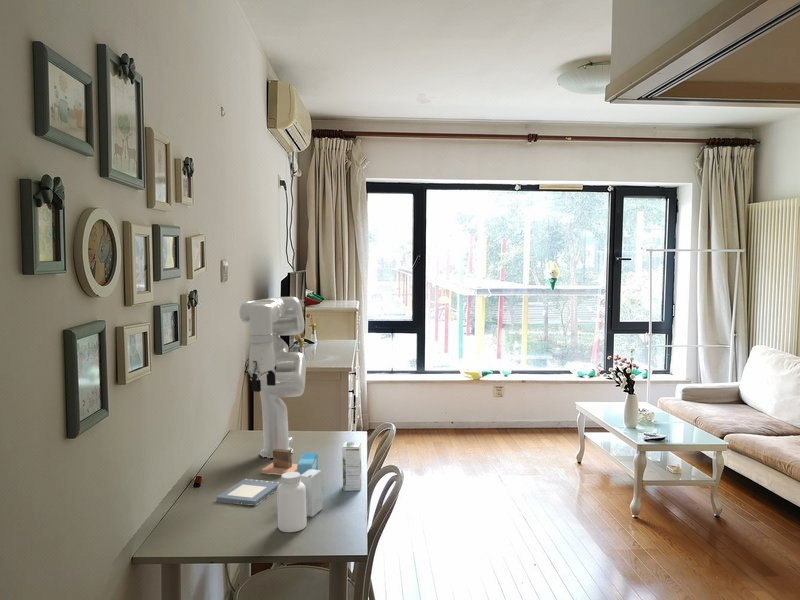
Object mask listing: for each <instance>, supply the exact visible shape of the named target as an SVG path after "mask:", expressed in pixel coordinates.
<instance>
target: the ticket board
mask: <svg viewBox="0 0 800 600" xmlns="http://www.w3.org/2000/svg"><path fill="white" fill-rule="evenodd" d="M280 484H281V481H273V480H272V481H271V480H264V479H263V480H262V479H251V478H243V479H242V480H240V481H239V482H237V483H236V484H234V485H232V486H231V487H230V488H228V489H226V490H225V491H223V492H222V493H220V494H218V495H217V496H216V497H215V499H216V502H217V503H223V504H233V503H239V504H238V505H242V504H253V505H256V504H257V503H259V502H260V501H261V500H263V499H264V498H266V497H267V496H268V495H270V494H271V493H272V492H274V491H275V490H277V488H278V486H279V485H280ZM275 492H276V491H275ZM275 492H274V493H275ZM271 495H272V494H271ZM271 495H270V496H271ZM267 498H268V497H267ZM267 498H266V499H267ZM263 501H264V500H263ZM241 503H242V504H241ZM259 504H260V503H259Z"/></svg>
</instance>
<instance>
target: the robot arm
mask: <svg viewBox="0 0 800 600" xmlns="http://www.w3.org/2000/svg"><path fill="white" fill-rule="evenodd" d="M238 312H239V318H240V320H241V321H242V323H244V324H249V332H250V333H249V334H250V346H249V354H248V357H249V358H248V369H247V372H248V376H249V378H250V379H249V380H250V381H251V391H252V392H256V393H257V392H258V393H259V396H260V400H261V401H260V402H261V414H262V415H261V417H262V436H263V437H262V438H263V448H262V449H261V450H260V451H259V456H260V455H261V456H262V458H264V457H267V458H266V459H270V458H273V450H275V449H285V450H291V453H292V454H293V453H294V448H293V447H291V446H290V444H291V443H292V442H294V438H293V437H292V436H290V437H289V421H288V420H289V419H288V418H289V417H288V407H287V405H286V403H285V402H284V400H283V399H281V398H292V397H293V398H294V397H295V398H296V397H300V396H302V395H303V394H304V392H305V389H306V388H305V386H306V377H307V376H306V371H307V361H306V357H305V355H304V353H302V352H299V351H291V352H290V351H289V350H290V349H289V346H288V344H287V342H286V341H284V339H282V337H279V336H297V335H302V334H303V333H304V331H305V320H304V319H305V318H304V313H303V309H302V304H301V301H300V300H299V298H298V297H296V296H277V297H276V296H275V297H269V298H262V299H257V300H251V301H244V302H243V303H241V304H240V307H239V311H238ZM261 456H260V457H261Z"/></svg>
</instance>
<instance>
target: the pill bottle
mask: <svg viewBox="0 0 800 600" xmlns="http://www.w3.org/2000/svg"><path fill="white" fill-rule="evenodd" d="M300 479H301V476H300V473H298V472H286V473H284V474H282V475H280V482H281V484H280V485H279V486H278V488H277V491H276V505H277V506H276V507H277V511H276V513H277V526H278V527H277V528H278V530H279V531H280V532H284V533H295V532H299V531H302V530H304V529H305V528H306V527H307V516H306V488H305V485H304V484H303V483H302V482H300V481H301V480H300Z"/></svg>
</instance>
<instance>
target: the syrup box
mask: <svg viewBox="0 0 800 600" xmlns="http://www.w3.org/2000/svg"><path fill="white" fill-rule="evenodd" d="M341 449H342V450H341V451H342V486H343V487H342V490H343V492H354V491H362V484H363V483H362V482H363V479H362V478H363V477H362V474H363V473H362V442H360V441H346V442H343V445H342V448H341Z"/></svg>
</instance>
